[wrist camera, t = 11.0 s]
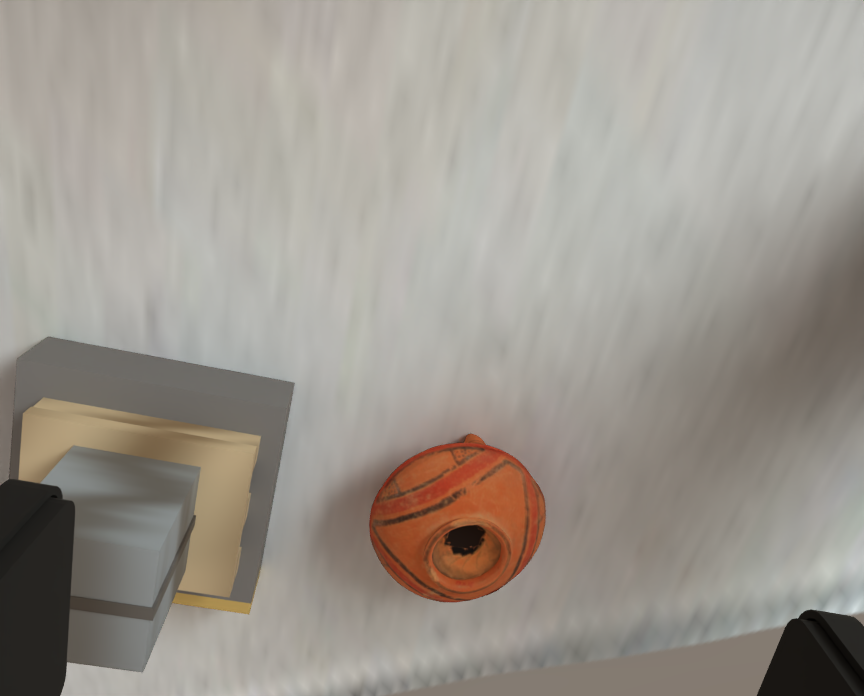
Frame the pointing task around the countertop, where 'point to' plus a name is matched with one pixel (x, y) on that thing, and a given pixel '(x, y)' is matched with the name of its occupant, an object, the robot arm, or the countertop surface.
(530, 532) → the pot
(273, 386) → the dock
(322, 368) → the countertop surface
